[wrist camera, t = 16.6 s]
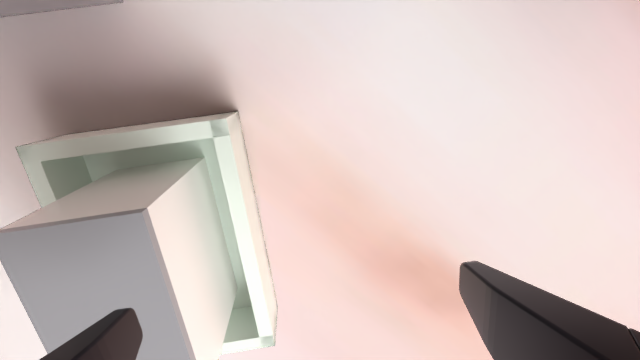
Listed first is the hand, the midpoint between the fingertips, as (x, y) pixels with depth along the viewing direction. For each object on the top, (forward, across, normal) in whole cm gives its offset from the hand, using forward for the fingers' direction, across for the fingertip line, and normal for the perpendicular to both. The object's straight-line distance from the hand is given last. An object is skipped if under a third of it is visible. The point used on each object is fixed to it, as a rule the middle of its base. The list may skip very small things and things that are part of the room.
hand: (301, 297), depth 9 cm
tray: (+11, +8, +3) cm, 14 cm away
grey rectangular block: (+11, +8, +3) cm, 13 cm away
